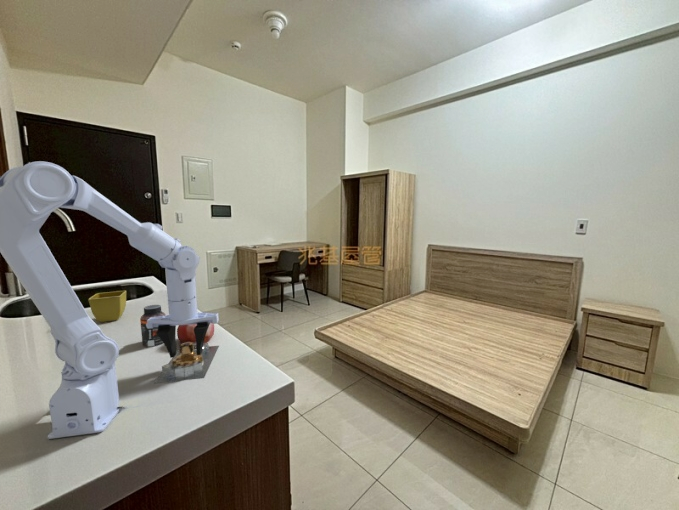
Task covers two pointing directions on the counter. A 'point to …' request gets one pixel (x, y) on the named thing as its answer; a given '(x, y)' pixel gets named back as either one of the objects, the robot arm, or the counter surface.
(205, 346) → the sun gear
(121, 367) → the counter surface
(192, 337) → the fruit
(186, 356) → the planet gear
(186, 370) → the ring gear segment
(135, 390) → the counter surface
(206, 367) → the carrier plate
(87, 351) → the robot arm
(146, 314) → the supplement bottle
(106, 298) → the flower pot
